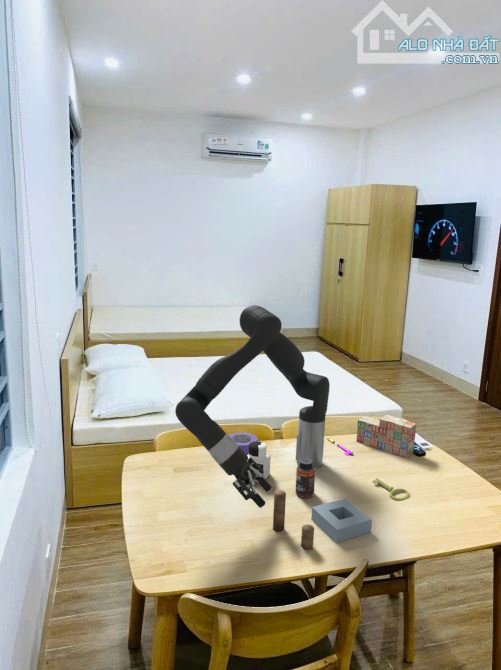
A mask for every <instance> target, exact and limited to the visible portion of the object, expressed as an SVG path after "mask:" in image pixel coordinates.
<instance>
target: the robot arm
mask: <svg viewBox="0 0 501 670" xmlns="http://www.w3.org/2000/svg"><path fill="white" fill-rule="evenodd" d="M239 325H240V329H241V331H242V332H243V334H245V335H247V337H249V339H248V341H247V342H246V343H245V344H244V345H242V346H241V347H240V348H238V349H236V350H235V351H234V352H231V353H229V354H227V355H225V356H223V357H220V358H219V359H218V360H216V361H215V362H213V363H212V364H210V366H209V367H208V368H207V370H205V372H203V374H202V375H201V376H200V377H199V379H198V380H197V381H196V384H195V385H194V386H193V387H191V389H190V390H189V391H188V393H186V395H184V397H182V399H181V400H179V402H178V403H177V404H176V407H175V409H174V411H175V412H174V413H175V417H176V418H177V420H178V421H179V422H180V424H181V425H183V427H185V428H186V430H188V431H189V432H190V434H192V435H193V436H195V438H196V439H197V440H198V442H199V443H200V444H201V445H202V446H203V448H205V449H206V451H207V452H208V453H209V454H210V456H211V458H212V459H213V460H214V461H215V463H216V464H218V466H219V467H220V468H221V469H222V470H223V472H225V474H226V475H227V476H234V477H235V480H234V481H233V482H232V485H233V487H234V488H235V489H236V490H237V492H238V493H239V494H240V495H241V497H242V498H243V499H244V500H245V501H248V500H250V499H251V500H252V501H253V503H255V505H257V507H258V508H259V509H260V508H261V509H262V508H263V507H265V505H266V500H264V498H263V497H262V496H261V495H260V494H259V493H258V492H257V490H256V488H255V485H256V484H255V481H257V482H256V483H257V484H258V485H259V486H260V487H261V488H262V489H263V490H264V492H266V493H268V492H270V491H271V490H272V488H273V486H272V485H271V484H270V483H269V482H268V480H267V478H266V479H265V478H264V475H263V473H264V471H263V469H262V468H261V467H260V466H259V465H258V464H257V463H256V462H255V461H254V460H253V459H252V458H251V457H250V458H249V459H248V456H247V455H246V454H245V452H244V451H243V450H242V449H241V448H240V447H239V446H238V445H237V443H236V442H235V441H234V440H233V439H232V438H231V437H230V436H229V434H227V432H226V431H225V430H224V428H222V427H221V426H220V425H219V424H218V422H217V421H215V420H213V419H212V418H211V417H210V416H209V414H208V413H207V412H206V411H205V410H206V409H207V407H208V406H209V405H210V403H212V401H213V400H215V399H216V398H217V397H218V396H219V395H220V393H221V392H222V391H223V390H224V389H225V388H226V387H227V385H228V384H229V383H230V382H231V381H232V379H233V378H234V377H236V375H237V374H239V372H241V370H243V369H244V368H245V367H246V366H247V365H248V364H249V363H251V362H252V361H253V360H254V359H256V357H257V356H259V355H260V354H261V353H264V354H265V355H266V357H267V358H268V359H269V361H270V362H271V363H272V364H273V365H274V367H275V368H276V369H277V370H278V371H279V372H280V373H281V375H283V377H285V379H286V380H287V381H288V382H289V384H290V386H291V387H292V388H293V390H294V392H295V393H296V395H297V396H298V397H300V398H302V399H305V400H307V401H308V400H309V401H312V402H313V403H312V405H308V406H304V407H302V408H300V410H299V412H298V413H299V414H298V430H297V431H298V432H297V433H298V434H297V435H296V449H295V460H296V463H297V466H299V465H300V460H301V459H303V458H307V459H311V460H312V464H313V465H312V466H313V467H314V468H315V469H319V468H321V467H322V466H323V459H324V447H325V445H324V444H325V430H326V416H327V415H326V414H327V411H328V405H329V395H330V380H329V378H328V377H327V376H324V375H320V374H316V373H312V372H308V371H306V370H305V369H304V367H305V357H304V355H303V353H302V351H301V350H300V349H299V348H298V347H297V345H296V344H295V343H294V342H293V341H292V340H291V339H290V338H288V337H287V336H286V335H285V334H283V333H282V331H281V330H282V321H281V319H280V318H279V317H278V316H277V315H276V314H274V313H272V312H271V311H269V310H268V309H266V308H265V307H263V306H261V305H257V304H255V305H254V304H253V305H248V306H246V307H245V308H244V309H243V310H242V312H241V313H240V316H239ZM257 469H258V470H257ZM254 480H255V481H254ZM258 481H259V482H258Z"/></svg>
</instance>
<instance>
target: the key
mask: <svg viewBox="0 0 501 670" xmlns="http://www.w3.org/2000/svg"><path fill="white" fill-rule="evenodd" d="M371 482H372V483H373V484H379V485H380V486H382V487H383V488H385V489H386V490H388V492H389V494H388V495H389V498H390V499H392V500H394V501H404V500H406V499H408V498H409V496H410V492H409V491H408V490H407V489H406V488H401V487H400V488H394V487H393V486H390V485H388V484H387V483H385V482H384V481H382V480H381V479H379V478H378V477H376V478H375V479H373V480H372V481H371ZM396 493H405V495H404V496H401V497H398V496H397V497H396V496H394V494H396Z"/></svg>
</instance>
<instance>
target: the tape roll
mask: <svg viewBox="0 0 501 670" xmlns="http://www.w3.org/2000/svg"><path fill="white" fill-rule="evenodd" d="M228 436H230V437H231V438H232V439H233V440H234V441H235V442H236V443H237V445H238V446H239V447H240V448H241V449H242V450H243V451H244V452H245V454H246V455H248V450H249V444H250V443H251V442H255V441H258V437H257V436H256V435H255V434H252V433H249V432H235V433H234V432H233V433H230V434H228Z"/></svg>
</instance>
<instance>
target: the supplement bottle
mask: <svg viewBox="0 0 501 670" xmlns="http://www.w3.org/2000/svg"><path fill="white" fill-rule="evenodd" d="M312 465H313V464H312V460H311V459H307V458H303V459H301V460H300V465H297V467H296V471H295V472H296V473H295V475H296V476H295V494H296V495H297V496H298V497H300V498H311V497H312V496H314V494H315V479H316V468H314V467H313V466H312Z"/></svg>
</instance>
